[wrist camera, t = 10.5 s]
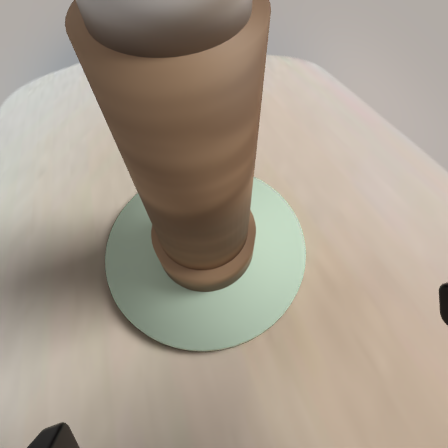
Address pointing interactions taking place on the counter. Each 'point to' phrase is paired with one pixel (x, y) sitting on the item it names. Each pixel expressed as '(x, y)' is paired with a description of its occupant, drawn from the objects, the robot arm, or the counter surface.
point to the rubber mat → (215, 300)
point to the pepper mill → (183, 120)
